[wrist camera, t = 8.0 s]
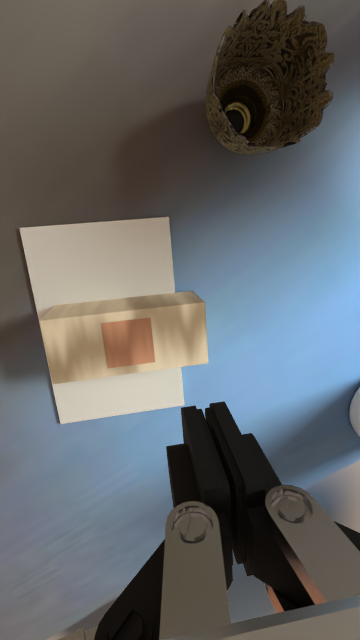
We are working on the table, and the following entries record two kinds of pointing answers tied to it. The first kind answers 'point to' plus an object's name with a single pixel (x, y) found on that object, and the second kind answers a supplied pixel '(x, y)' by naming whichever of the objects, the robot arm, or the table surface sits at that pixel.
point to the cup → (269, 79)
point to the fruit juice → (355, 412)
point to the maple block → (124, 336)
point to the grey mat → (103, 284)
